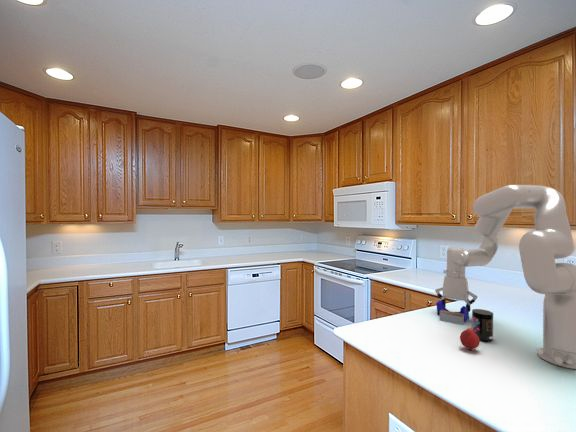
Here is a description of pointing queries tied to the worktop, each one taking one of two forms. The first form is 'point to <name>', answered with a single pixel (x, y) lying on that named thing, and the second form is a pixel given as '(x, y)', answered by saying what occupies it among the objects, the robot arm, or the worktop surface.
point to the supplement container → (483, 324)
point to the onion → (469, 339)
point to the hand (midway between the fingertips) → (455, 310)
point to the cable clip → (462, 311)
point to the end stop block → (452, 317)
